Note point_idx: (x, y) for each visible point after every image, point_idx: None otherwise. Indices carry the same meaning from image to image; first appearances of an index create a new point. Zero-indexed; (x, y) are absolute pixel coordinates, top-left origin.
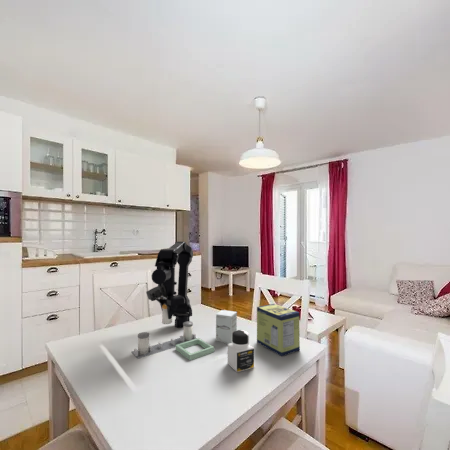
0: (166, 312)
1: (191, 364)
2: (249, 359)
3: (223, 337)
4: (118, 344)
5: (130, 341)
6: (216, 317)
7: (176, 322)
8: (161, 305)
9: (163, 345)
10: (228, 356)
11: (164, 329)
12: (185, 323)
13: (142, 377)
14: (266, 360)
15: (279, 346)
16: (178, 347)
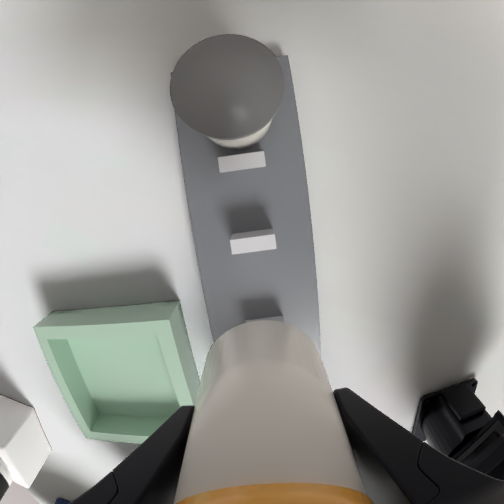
0: (189, 455)
1: (47, 312)
2: None
3: None
4: (449, 57)
5: (461, 120)
6: None
7: (463, 406)
8: (419, 490)
9: (270, 263)
10: (15, 420)
11: (488, 332)
12: None
13: (37, 92)
14: (42, 471)
15: None
16: (134, 321)
